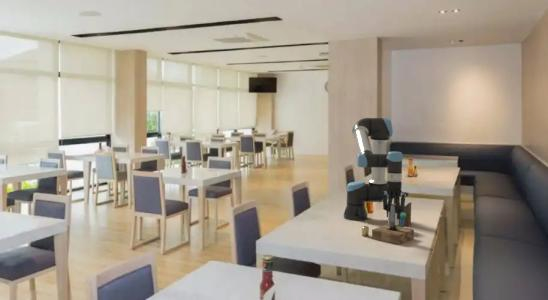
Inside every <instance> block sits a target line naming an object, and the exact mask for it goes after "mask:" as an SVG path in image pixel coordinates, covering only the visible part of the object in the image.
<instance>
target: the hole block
mask: <svg viewBox="0 0 548 300" xmlns="http://www.w3.org/2000/svg"><path fill="white" fill-rule="evenodd" d="M414 236H415V229H412V228H408V227H404V228H403V227H398V226H397V231H391V230H390V225H389V224H384V225H382V226H379V227H376V228H372V230H371V240H375V241H379V242H380V241H381V242H385V243H390V244H395V245H398V246H399V245H403V244H405V243H407V242H409V241H411V240H414V239H415V237H414Z"/></svg>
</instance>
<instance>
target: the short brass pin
mask: <svg viewBox="0 0 548 300" xmlns="http://www.w3.org/2000/svg"><path fill="white" fill-rule="evenodd" d="M369 230H370V226H368V225H367V226H366V225H362V226H361V236H362V237H365V238H366V237H369V234H370V233H369V232H370V231H369Z"/></svg>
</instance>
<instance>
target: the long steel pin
mask: <svg viewBox="0 0 548 300" xmlns="http://www.w3.org/2000/svg"><path fill="white" fill-rule="evenodd" d="M396 212H397V210H396V204H394V203H392V204H390V230H391V231H397V225H395V213H396Z"/></svg>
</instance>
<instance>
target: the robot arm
mask: <svg viewBox="0 0 548 300" xmlns="http://www.w3.org/2000/svg"><path fill="white" fill-rule="evenodd" d="M393 132H394V131H393V125H392V121H391V119H389V118H386V117H365V118H364V117H363V118H361V119H359V120H357V122H355V124H354V125H353V127H352V135H353V138H354V139H355V143H356V146H357V150H358V151H357V152H358V154H357V155H356V166H357V168H365V169H366V168H371V176H370V177H371V178H370V179H369V180H368V183H366V181H363V180H362V181H361V180H357V181H352V182H349V183H347V185H346V207H345V210H344V212H343V218H344V219H346V220H351V221H364V220H367V219H368V211H367V210H366V209H367V208H366V203H382V207H383V208H382V209H383V211H386V218H387V225H389V224H390V204H393V201H394V200H395V203H396V210H397V212H396V213H395V225H399V219H400V214H401V213H402V212H404V207H405V206H406V204H405V203H406V197H407V193H403V191H402V185H403V183H402V178H403V175H402V173H403V152H401V151H388V152H387V143H388V141H390V138H392V137H393ZM370 140H371V142H372V144H371V142H370ZM371 145H372V146H371ZM386 168H387V169H386ZM386 170H387V172H386ZM386 175H387V176H386ZM399 196H400V198H399ZM399 200H400V201H399Z"/></svg>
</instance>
